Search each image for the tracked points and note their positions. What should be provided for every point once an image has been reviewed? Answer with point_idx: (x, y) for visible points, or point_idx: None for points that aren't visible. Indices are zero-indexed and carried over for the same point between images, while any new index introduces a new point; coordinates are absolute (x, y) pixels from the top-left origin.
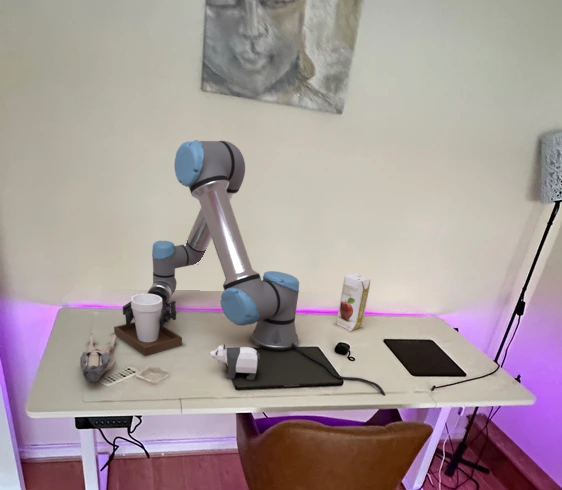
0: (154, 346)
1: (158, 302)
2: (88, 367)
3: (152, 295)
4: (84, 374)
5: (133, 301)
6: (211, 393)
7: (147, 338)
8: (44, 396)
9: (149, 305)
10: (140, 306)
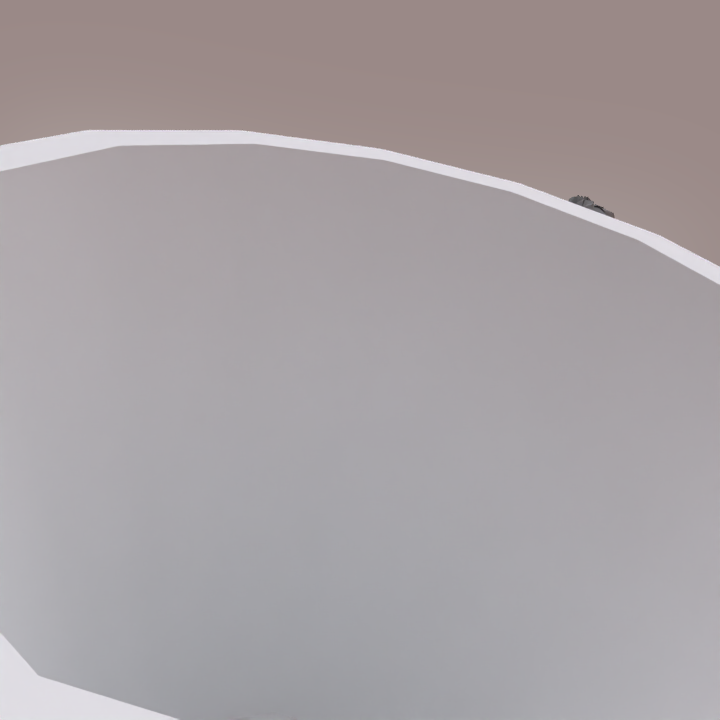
0: None
1: (105, 140)
2: (601, 209)
3: (25, 687)
4: None
5: (706, 265)
6: None
7: (286, 685)
8: None
9: (335, 153)
10: (497, 219)
